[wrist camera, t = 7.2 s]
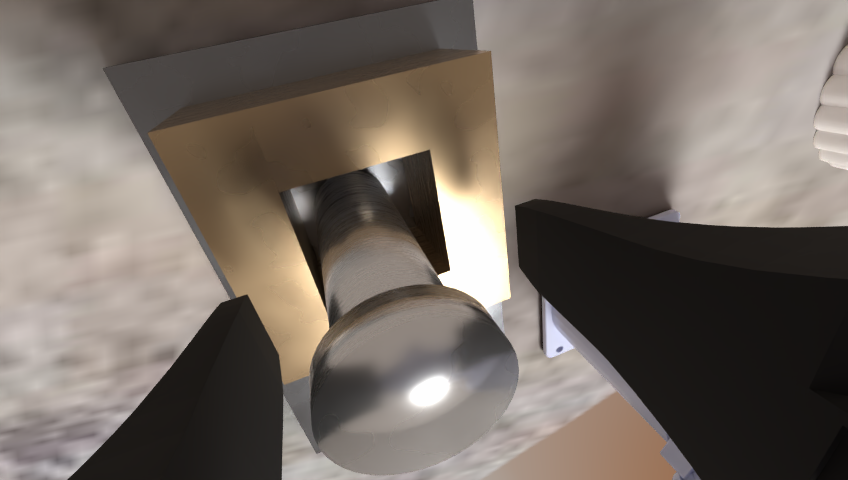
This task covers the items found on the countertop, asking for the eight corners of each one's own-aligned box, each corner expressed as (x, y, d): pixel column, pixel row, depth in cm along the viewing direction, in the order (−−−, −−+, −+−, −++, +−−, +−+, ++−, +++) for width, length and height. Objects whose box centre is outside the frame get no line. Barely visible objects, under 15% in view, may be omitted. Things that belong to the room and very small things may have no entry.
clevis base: (460, -4, 15) (535, -22, 10) (500, 360, 25) (546, 426, 20) (114, 66, 12) (30, 79, 8) (315, 438, 22) (324, 530, 18)
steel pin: (390, 147, 15) (516, 288, 7) (407, 235, 17) (520, 431, 9) (286, 170, 14) (278, 363, 6) (316, 260, 16) (343, 500, 8)
